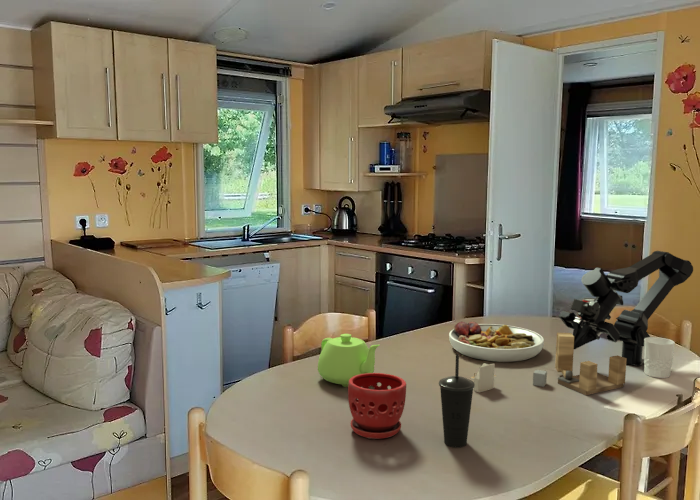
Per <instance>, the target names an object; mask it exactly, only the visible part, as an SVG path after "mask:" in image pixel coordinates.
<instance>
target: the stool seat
mask: <svg viewBox="0 0 700 500" xmlns="http://www.w3.org/2000/svg"><path fill="white" fill-rule="evenodd" d="M626 360H627V358H624V357H622V355H617V354H616V355H612V356H610V357H609V361H608V376H607V375H604V374H602V373H599V372H598V363H595V362H592V361H589V360H587V361H581V362H579V363H580V364H579V374H577V375H573V379H571V380H568V379H565V378H564V376H561V377H558V378H557V384H559V385H561V386H563V387H566V388H568V389H570V390H572V391H575V392H578V393H579V394H582V395H584V396H589V395H594V394H597V393H603V392H606V391H611V390H616V389H620V388H623V387H625V386H624V384H626V375H627V374H626V373H627V372H626V371H627V364H626Z"/></svg>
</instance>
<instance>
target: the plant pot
mask: <svg viewBox="0 0 700 500" xmlns="http://www.w3.org/2000/svg"><path fill="white" fill-rule="evenodd" d="M378 384H380V385H378ZM370 387H373V389H371V388H370ZM388 387H390V389H389V388H388ZM347 388H348V389H347V394H348V395H347V398H348V399H347V401H348V408H349V411H350V414H351V416H352V419H351V420H350V422H349V423H350V427H351V429H352V431H353V432H354V433H355V434H357V435H359V436H361V437H364V438H366V439H368V440H369V439H373V440H375V439H379V440H380V439H381V440H382V439H387V438H391V437H393V436H395V435H396V434H398V433H399V432H400V430H401V428H402V423H401V421H400V419H401V418H402V416H403V413H404V410H405V404H406V396H407V382H406V381H405V379H403V378H402V377H400V376H398V375H394V374H388V373H381V372H373V373H365V374H359V375H356V376H353V377H352V378H350V380H349V384H348V387H347Z"/></svg>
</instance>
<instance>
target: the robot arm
mask: <svg viewBox="0 0 700 500" xmlns="http://www.w3.org/2000/svg"><path fill="white" fill-rule="evenodd" d="M656 271H658V277H657V279H656V280H655V282H654V283H653V284H652V286H650V288H649V289H648V290H647V292H646V293H645V294H644V296H643V297H642V298H641V300H640V301H639V302H638V303H637V304H636V305H635V306H634V308H633V309H632V310H628V309H623V310H622V311H621V313H620V314H619V315H618V316H617V317H616V318H615V322H614V324H613V323H611V322H608V321H606V320H611V318H612V316H611V315H610V314H611V313H612V312H613V310H614V308H615V307H616V306H617V305H619V306H624V299H623V295H620V294H619V293H624V294H629V293H630V292H632V291H634V290H635V289H636V287H638V285H639V282H640V281H641V280H642V279H645V278H646V277H647V276H649V275H651V274H653V273H654V272H656ZM693 272H694V266H693V265H692V263H691V261H690V260H687V259H683V258H680V257H678V256H676V255H673V254H672V253H670V252H668V251H661V250H655V251H653V252H651V254H649V255H648V256H646V257H644V258H642V259H641V260H639V261H637V262H635V263H634V264H632V265H630V266H627V267H623V268H617V269H613V270H610V271H609V272H608V273H607V274H606V273H605V272H604V269H602V268H601V267H595V268H594V269H592V270H590V271H587V272H586V273H584V274H583V275H582V277H581V279H580V280H581V283H582V284H583V286H584V287H585V288H586V290H587V291H588V292H589V293H590V295H591V297H593V298H595V299H594V301H590V302H585V301H583V300H581V299H576V298H574V299H573V301H572V304H571V307H570V310H572V311H570V310H566V309H565V310H561V311H560V313H559V314H558V316H557V317H558V318H559V319H560V321H562V323H563V324H564V325H565V327H567V328H568V329H572V330H573V332H572V335H573V336H574V350H576V349H578V348H580V347H582V346H585V345H586V344H588V343H591V342H594V341H596V340H600V338H601V334H605V335H607V336H606V338H607V341H609V342H612V343H617V342H619V341H621V342H622V343H621V344H622V346H621V357H624V358H627V360H626V365H631V366H637V367H641V366H642V365H643V364H644V358H643V352H644V339H645V338H648V337H651V335H650V334H649V333H648V332H647V330H648V328H649V327H648V326H649V323H648V322H649V319H650V318H651V316H652V315H653V314H654V313H655V311H656V310H657V309H658V307H659V306H660V305H661V304H662V302H663V301H664V299H666V298H667V296H668V295H669V294H670V292H671V291H672V289H673V288H674V287H676V286H679V285H681V284H683V283H685V282H686V281H687V280H688V279H689V278H690V277H691V276H692V274H693ZM618 292H619V293H618ZM573 311H575V312H577V315H578V316H577V315H576V314H575V312H573ZM580 317H581V318H580Z"/></svg>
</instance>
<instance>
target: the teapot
mask: <svg viewBox="0 0 700 500" xmlns="http://www.w3.org/2000/svg"><path fill="white" fill-rule="evenodd" d="M320 345H321V346H320V347H321V352H320V354H319V357H318V361H317V371H318V373H319V375H320V376H321V378H322V379H323V380H325V381H326V382H329V383H332V384H338V385H341V387H344V388H348V384H349V380H350V378H352V377H353V376H356V375H359V374H365V373H375V372H374V371H375V364H376V363H375V362H376V358H375V357H376V356H375V354H376V350H377V348H378V347H380V344H372V345H370V347H368V345H367V343H366V342H365V341H364V340H363V339H361V338H357V337H354V336H353V337H352V334H351V333H341V334H340V335H339V336H337V337H334V338H332V337H326V338H323V339H322V340H321V343H320Z"/></svg>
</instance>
